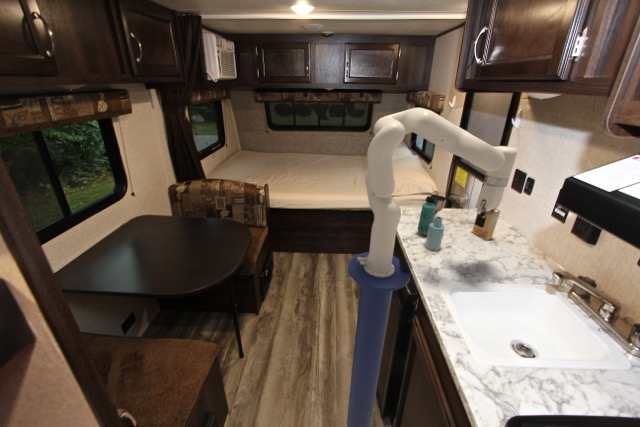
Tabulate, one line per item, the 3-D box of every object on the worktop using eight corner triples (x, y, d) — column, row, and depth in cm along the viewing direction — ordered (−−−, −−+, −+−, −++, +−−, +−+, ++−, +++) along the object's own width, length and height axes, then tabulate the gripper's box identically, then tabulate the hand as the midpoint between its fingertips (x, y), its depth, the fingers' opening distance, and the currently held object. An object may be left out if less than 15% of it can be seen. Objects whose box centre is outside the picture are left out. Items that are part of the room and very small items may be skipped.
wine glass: (426, 219, 162) (431, 194, 156) (441, 222, 158) (447, 197, 152) (423, 224, 156) (428, 198, 149) (439, 228, 152) (444, 202, 146)
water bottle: (426, 249, 133) (432, 220, 126) (424, 242, 138) (429, 214, 132) (441, 251, 132) (448, 221, 126) (438, 244, 138) (444, 215, 131)
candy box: (471, 232, 149) (478, 204, 143) (477, 230, 151) (485, 203, 144) (485, 240, 142) (494, 211, 135) (492, 239, 143) (501, 210, 137)
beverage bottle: (420, 229, 150) (427, 193, 142) (432, 234, 146) (440, 197, 138) (414, 233, 146) (420, 196, 138) (426, 238, 142) (433, 200, 133)
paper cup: (477, 229, 114) (481, 214, 111) (472, 223, 119) (477, 208, 116) (492, 230, 113) (497, 215, 110) (487, 224, 118) (491, 209, 115)
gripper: (496, 174, 115) (484, 215, 123) (474, 181, 106) (462, 225, 113) (517, 179, 110) (503, 222, 117) (495, 187, 100) (481, 233, 108)
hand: (483, 223), depth 115 cm, fingers closed on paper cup, 5 cm apart
